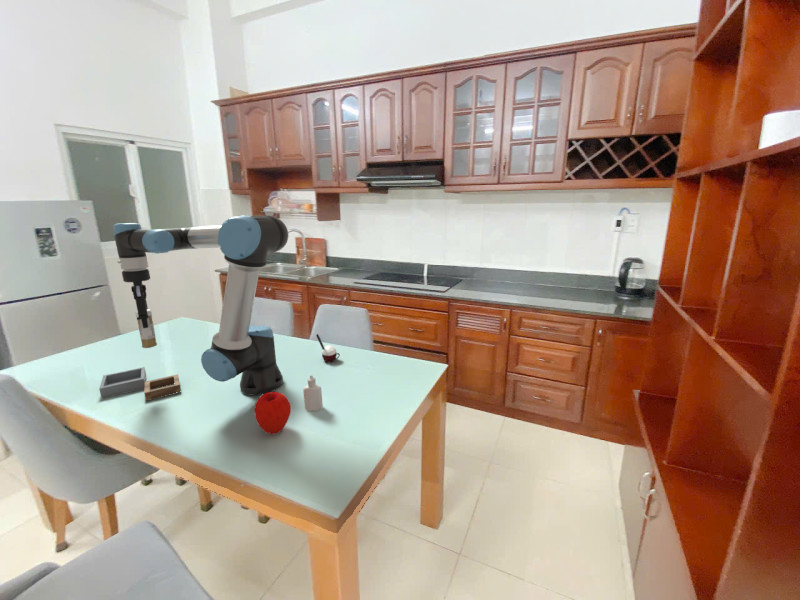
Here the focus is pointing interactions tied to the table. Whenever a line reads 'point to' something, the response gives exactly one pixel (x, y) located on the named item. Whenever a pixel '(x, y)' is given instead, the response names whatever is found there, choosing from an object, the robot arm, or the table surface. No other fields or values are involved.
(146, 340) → the sprinkles bottle
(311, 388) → the eye dropper bottle
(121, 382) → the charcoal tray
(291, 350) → the table surface
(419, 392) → the table surface
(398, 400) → the table surface
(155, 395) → the walnut collar
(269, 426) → the apple
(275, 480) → the table surface
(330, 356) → the cocoa
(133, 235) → the robot arm
